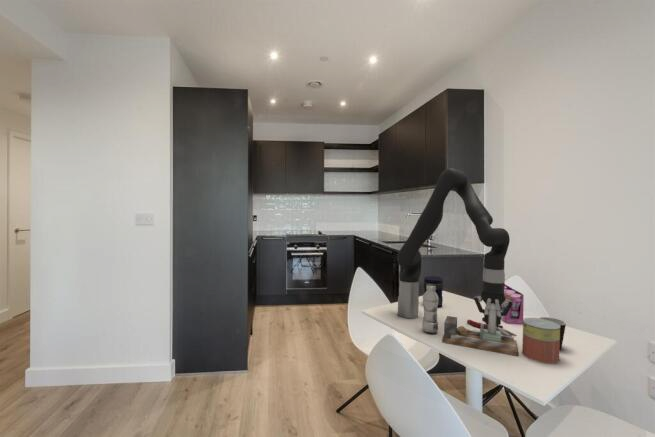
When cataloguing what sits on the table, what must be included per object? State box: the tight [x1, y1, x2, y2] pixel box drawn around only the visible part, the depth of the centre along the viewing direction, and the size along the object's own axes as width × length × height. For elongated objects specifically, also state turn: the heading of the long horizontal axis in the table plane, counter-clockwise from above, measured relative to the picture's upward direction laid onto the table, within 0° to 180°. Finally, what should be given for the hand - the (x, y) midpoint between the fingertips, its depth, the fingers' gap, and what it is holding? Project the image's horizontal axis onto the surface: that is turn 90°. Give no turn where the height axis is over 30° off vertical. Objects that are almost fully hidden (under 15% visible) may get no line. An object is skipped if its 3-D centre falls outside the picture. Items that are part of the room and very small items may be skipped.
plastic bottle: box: [421, 284, 439, 334], centre depth 139 cm, size 6×7×20 cm
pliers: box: [466, 317, 518, 337], centre depth 143 cm, size 12×20×3 cm, turn 22°
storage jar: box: [423, 275, 444, 309], centre depth 177 cm, size 10×10×15 cm
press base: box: [441, 315, 519, 357], centre depth 128 cm, size 26×12×8 cm, turn 63°
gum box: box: [500, 284, 525, 325], centre depth 161 cm, size 24×8×14 cm, turn 172°
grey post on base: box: [479, 303, 502, 343], centre depth 126 cm, size 7×7×15 cm
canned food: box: [521, 317, 561, 365], centre depth 117 cm, size 11×11×12 cm
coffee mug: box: [539, 316, 567, 351], centre depth 127 cm, size 12×9×10 cm
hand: (492, 324), depth 126 cm, fingers closed on grey post on base, 3 cm apart
